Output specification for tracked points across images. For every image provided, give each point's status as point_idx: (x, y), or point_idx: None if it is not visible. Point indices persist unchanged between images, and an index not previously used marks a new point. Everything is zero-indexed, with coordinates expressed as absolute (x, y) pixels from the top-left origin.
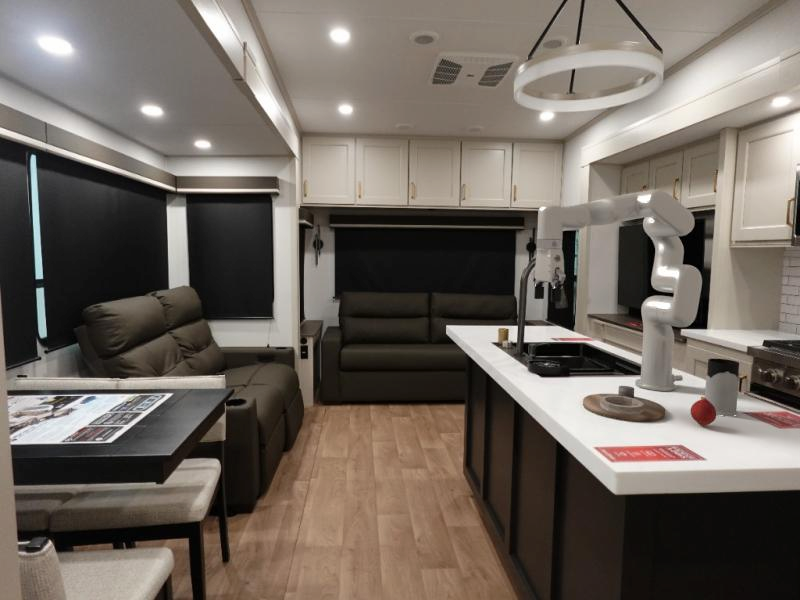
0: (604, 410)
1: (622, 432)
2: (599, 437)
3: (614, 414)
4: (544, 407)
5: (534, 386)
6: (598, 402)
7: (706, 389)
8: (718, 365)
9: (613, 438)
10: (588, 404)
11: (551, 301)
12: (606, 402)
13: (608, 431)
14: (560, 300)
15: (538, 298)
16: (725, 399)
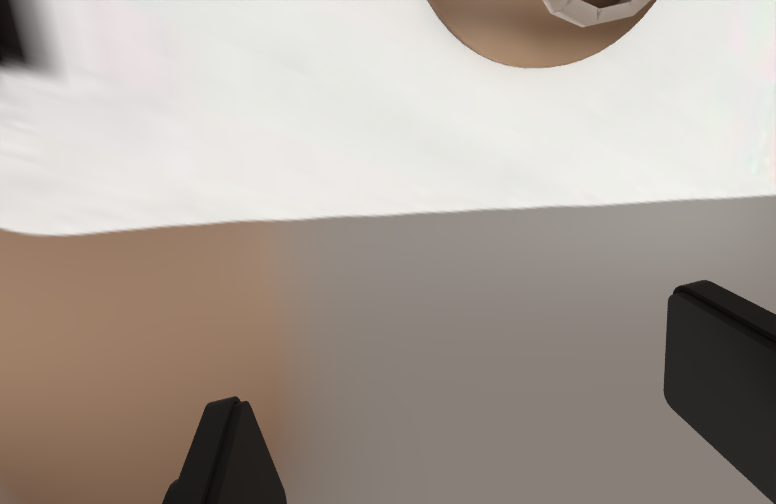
0: (610, 32)
1: (731, 54)
2: (739, 141)
3: (644, 13)
4: (495, 204)
5: (233, 158)
6: (525, 5)
7: None
8: None
9: (756, 106)
10: (542, 60)
11: (676, 394)
12: (615, 15)
13: (713, 94)
14: (708, 287)
15: (272, 467)
16: None
